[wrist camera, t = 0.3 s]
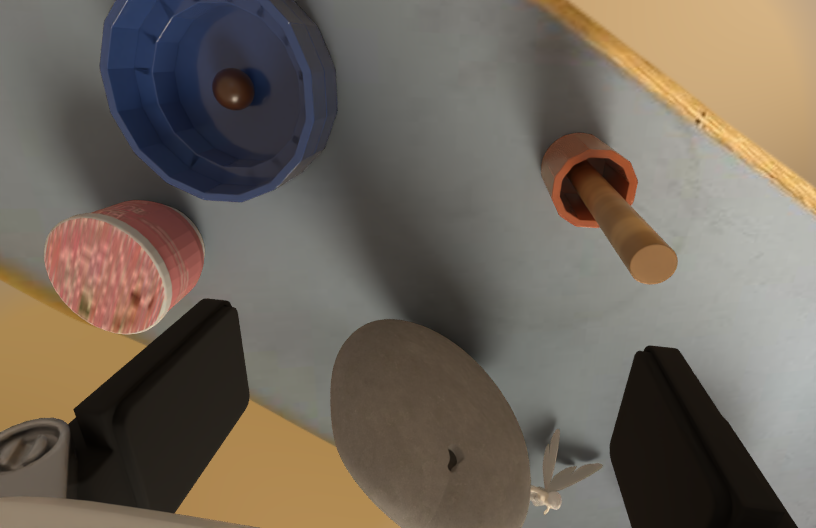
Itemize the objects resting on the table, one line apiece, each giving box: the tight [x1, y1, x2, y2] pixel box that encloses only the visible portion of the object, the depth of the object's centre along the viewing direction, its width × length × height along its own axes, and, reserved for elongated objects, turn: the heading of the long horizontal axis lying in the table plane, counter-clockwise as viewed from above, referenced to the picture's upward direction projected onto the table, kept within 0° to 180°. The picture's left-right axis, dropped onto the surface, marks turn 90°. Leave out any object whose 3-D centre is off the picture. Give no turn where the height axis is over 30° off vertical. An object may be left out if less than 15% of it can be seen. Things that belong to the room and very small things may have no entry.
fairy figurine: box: [530, 429, 603, 515], centre depth 47 cm, size 6×7×7 cm
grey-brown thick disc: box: [330, 319, 531, 528], centre depth 35 cm, size 18×7×19 cm, turn 52°
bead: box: [212, 68, 255, 110], centre depth 35 cm, size 3×3×3 cm
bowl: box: [100, 0, 338, 202], centre depth 34 cm, size 15×15×6 cm
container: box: [44, 200, 205, 334], centre depth 40 cm, size 10×10×8 cm
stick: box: [566, 160, 678, 284], centre depth 27 cm, size 2×2×18 cm
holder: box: [541, 133, 638, 228], centre depth 32 cm, size 5×5×7 cm
